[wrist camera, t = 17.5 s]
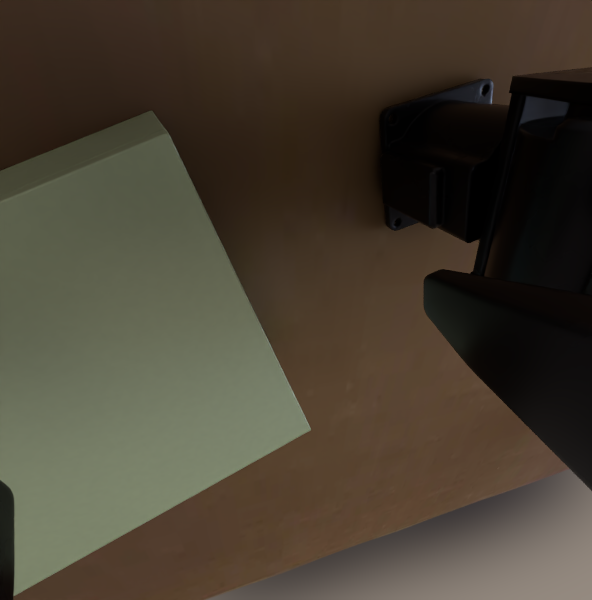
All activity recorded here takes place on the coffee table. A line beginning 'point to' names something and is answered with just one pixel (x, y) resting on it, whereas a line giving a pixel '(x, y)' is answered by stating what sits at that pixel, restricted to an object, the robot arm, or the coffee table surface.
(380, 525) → the coffee table surface
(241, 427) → the cabinet
